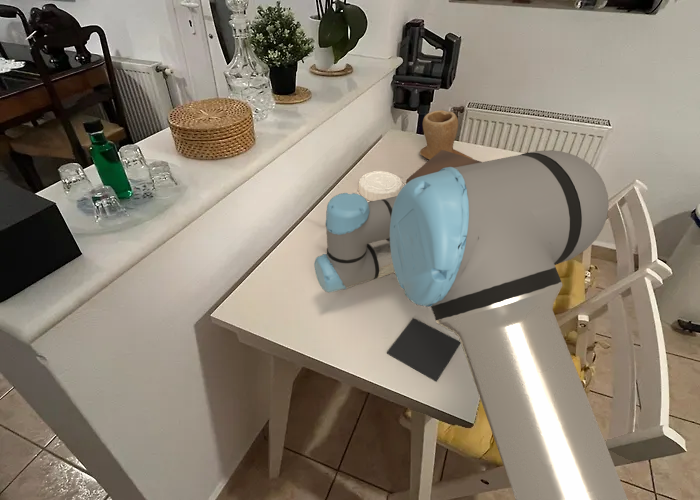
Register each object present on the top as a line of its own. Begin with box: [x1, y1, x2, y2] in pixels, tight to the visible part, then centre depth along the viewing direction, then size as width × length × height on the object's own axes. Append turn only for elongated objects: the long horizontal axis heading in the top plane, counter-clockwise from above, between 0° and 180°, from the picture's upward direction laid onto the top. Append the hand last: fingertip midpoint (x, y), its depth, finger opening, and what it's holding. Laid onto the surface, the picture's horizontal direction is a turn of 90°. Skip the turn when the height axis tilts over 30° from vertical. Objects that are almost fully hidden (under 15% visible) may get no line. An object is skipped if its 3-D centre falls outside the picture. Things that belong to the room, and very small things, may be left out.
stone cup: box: [419, 109, 474, 161], centre depth 128 cm, size 15×12×15 cm
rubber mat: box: [386, 317, 461, 382], centre depth 79 cm, size 10×10×1 cm
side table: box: [405, 150, 482, 185], centre depth 102 cm, size 18×18×15 cm
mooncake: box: [358, 170, 403, 202], centre depth 118 cm, size 12×12×4 cm
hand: (479, 227), depth 95 cm, fingers closed on soda can, 7 cm apart
